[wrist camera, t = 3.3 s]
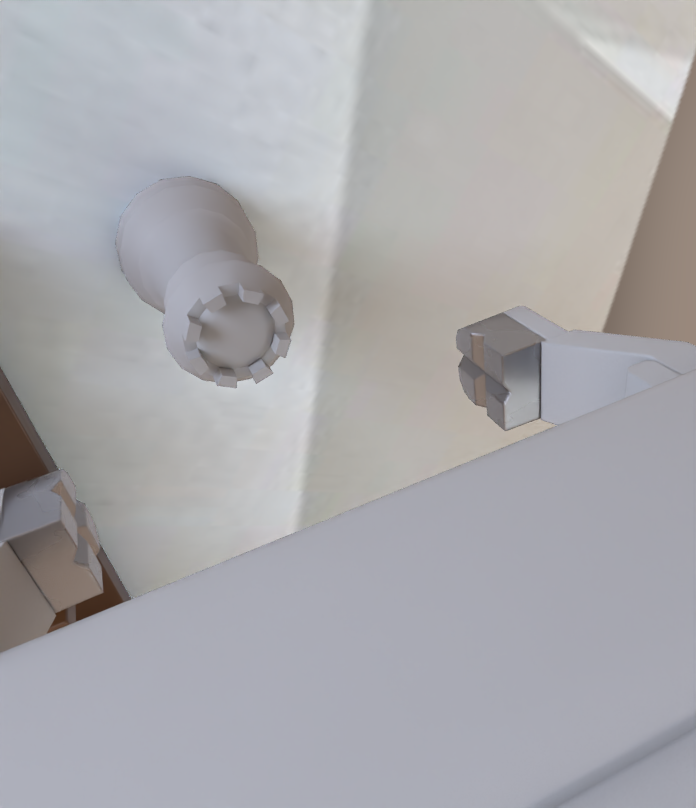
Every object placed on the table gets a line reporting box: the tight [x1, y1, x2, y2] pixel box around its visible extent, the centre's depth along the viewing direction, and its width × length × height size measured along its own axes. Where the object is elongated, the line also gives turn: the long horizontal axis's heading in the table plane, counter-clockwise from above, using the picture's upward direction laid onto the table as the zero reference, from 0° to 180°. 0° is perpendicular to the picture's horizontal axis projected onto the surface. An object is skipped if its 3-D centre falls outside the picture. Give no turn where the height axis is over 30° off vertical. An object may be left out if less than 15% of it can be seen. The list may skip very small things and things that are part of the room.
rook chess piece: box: [115, 176, 294, 388], centre depth 18 cm, size 4×4×8 cm
